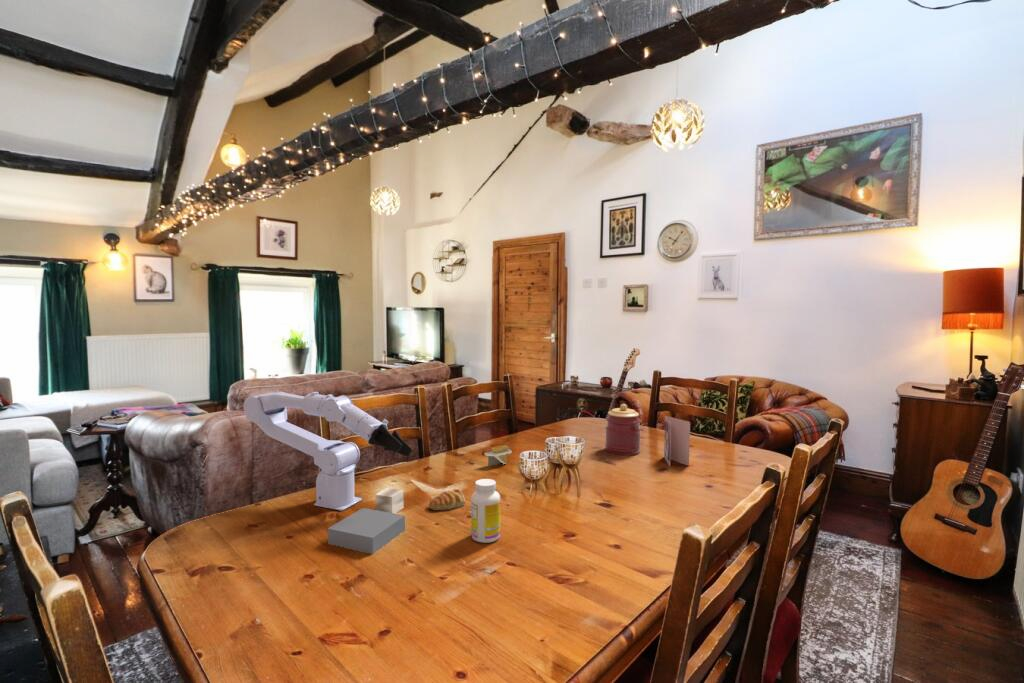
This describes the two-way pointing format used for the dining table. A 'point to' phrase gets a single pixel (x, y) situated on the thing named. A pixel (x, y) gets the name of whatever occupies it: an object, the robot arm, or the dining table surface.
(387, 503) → the cream block
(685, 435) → the greeting card
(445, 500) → the pastry
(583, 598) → the dining table surface
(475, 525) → the supplement bottle
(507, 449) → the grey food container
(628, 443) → the canister
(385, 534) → the gray panel
